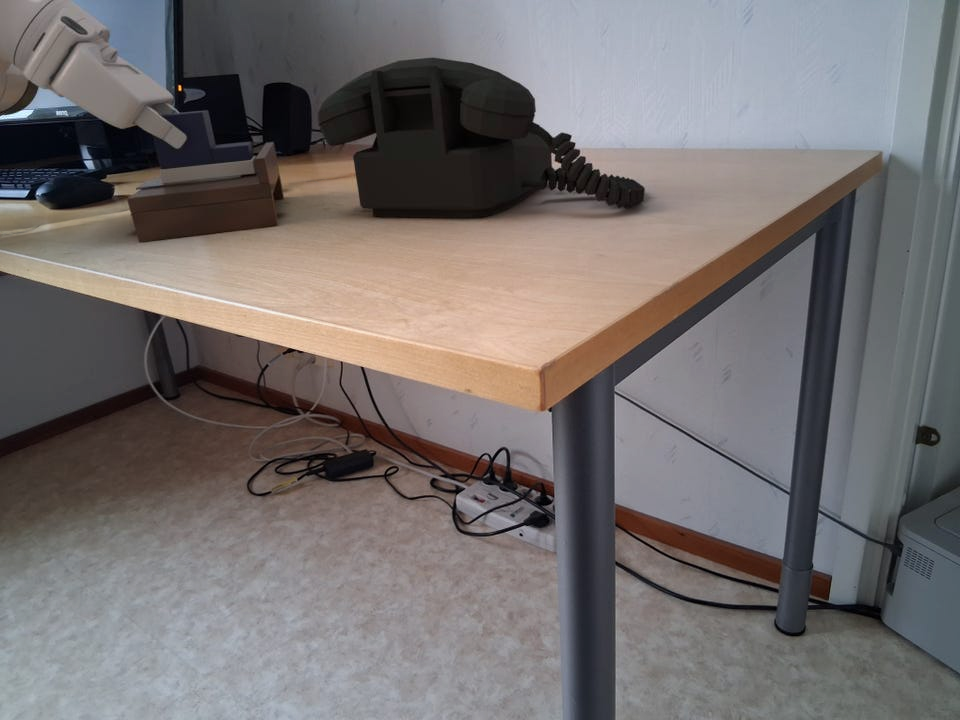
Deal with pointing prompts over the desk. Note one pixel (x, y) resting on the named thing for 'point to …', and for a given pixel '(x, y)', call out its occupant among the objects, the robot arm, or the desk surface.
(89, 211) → the desk surface
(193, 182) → the shoe shelf
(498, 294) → the desk surface
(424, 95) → the rotary telephone
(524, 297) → the desk surface
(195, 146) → the trainer
